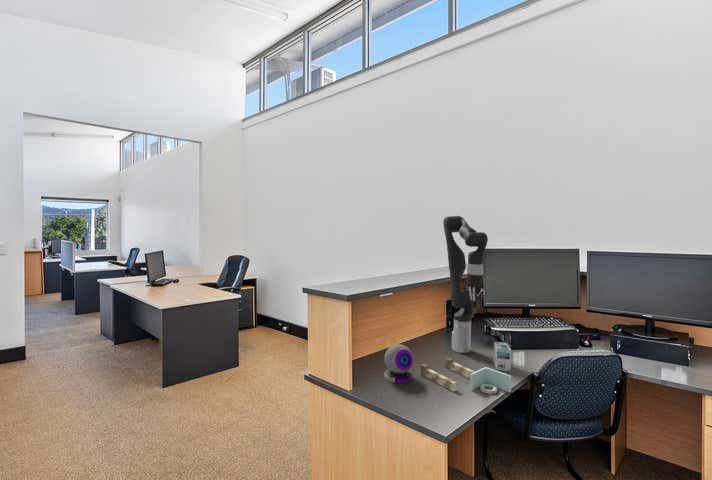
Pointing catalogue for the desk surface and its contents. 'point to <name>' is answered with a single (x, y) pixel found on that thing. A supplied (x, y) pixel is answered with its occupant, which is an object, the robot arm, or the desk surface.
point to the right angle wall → (490, 380)
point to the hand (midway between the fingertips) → (474, 308)
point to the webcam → (398, 364)
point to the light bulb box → (502, 356)
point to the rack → (442, 379)
